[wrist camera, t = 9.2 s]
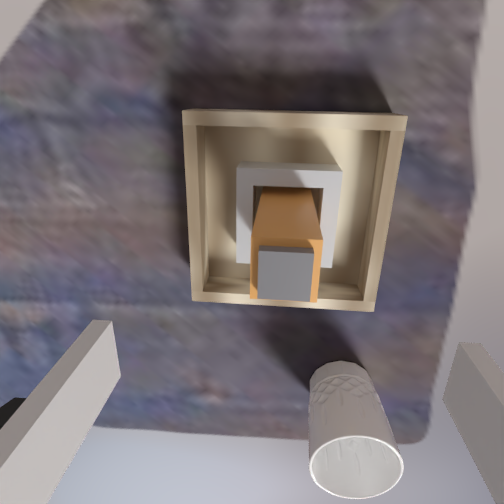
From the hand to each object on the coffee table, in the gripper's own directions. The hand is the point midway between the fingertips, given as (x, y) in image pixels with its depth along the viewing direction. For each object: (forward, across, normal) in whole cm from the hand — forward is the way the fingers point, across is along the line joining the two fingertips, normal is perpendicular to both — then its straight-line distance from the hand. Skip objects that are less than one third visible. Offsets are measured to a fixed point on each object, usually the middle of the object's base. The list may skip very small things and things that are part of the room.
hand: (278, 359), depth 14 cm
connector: (+20, 0, 0) cm, 20 cm away
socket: (+21, 0, 0) cm, 21 cm away
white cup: (+21, +7, -20) cm, 30 cm away
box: (+21, 0, 0) cm, 21 cm away
